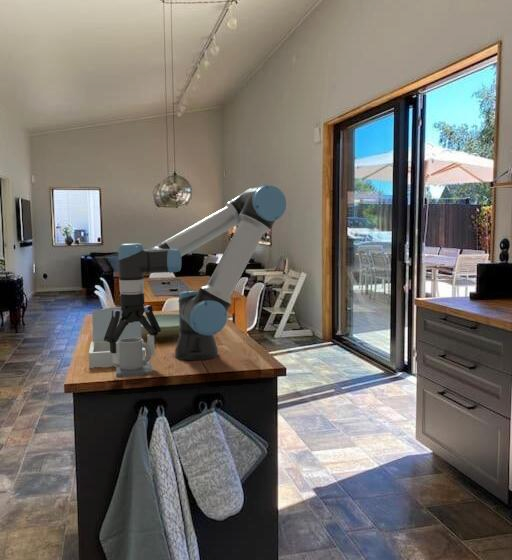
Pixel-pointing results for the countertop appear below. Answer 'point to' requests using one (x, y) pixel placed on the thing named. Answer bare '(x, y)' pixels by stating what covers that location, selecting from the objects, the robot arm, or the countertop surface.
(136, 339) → the cup
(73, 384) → the countertop surface
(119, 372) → the slate tile
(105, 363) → the cold frame
